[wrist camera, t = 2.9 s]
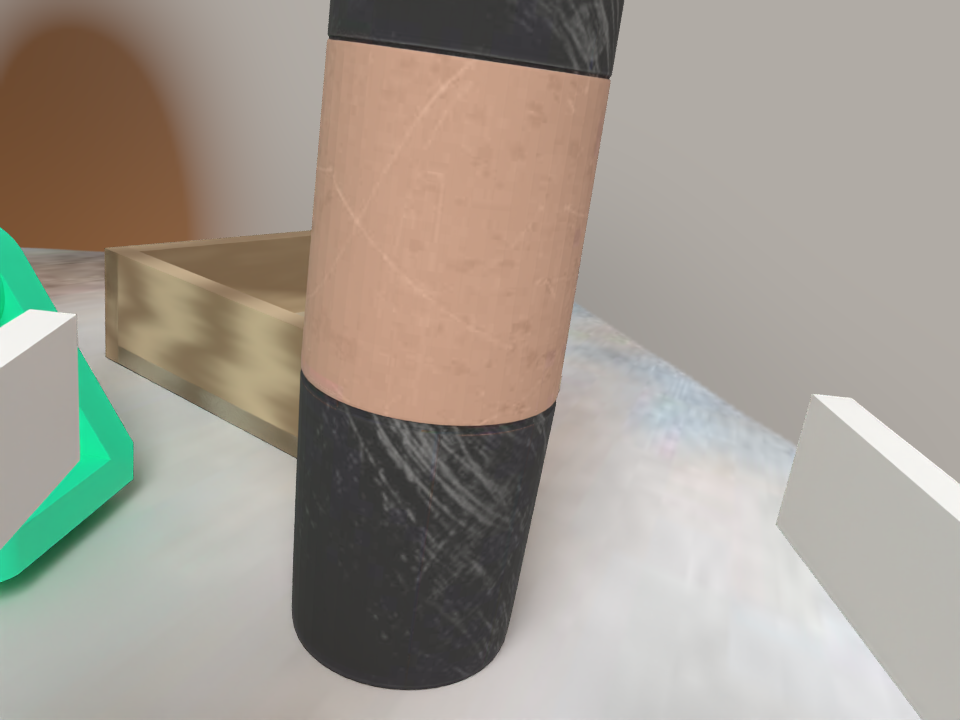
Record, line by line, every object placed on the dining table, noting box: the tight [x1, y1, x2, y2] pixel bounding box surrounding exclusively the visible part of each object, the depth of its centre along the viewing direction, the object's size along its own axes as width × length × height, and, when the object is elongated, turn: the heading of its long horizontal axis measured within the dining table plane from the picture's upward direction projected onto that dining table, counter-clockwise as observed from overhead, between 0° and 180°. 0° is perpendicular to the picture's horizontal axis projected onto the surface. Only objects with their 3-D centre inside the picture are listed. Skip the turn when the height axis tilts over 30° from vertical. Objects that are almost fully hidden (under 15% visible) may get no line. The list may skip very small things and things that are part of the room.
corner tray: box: [105, 230, 562, 458], centre depth 47 cm, size 18×18×6 cm
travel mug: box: [292, 0, 624, 690], centre depth 25 cm, size 8×8×20 cm
